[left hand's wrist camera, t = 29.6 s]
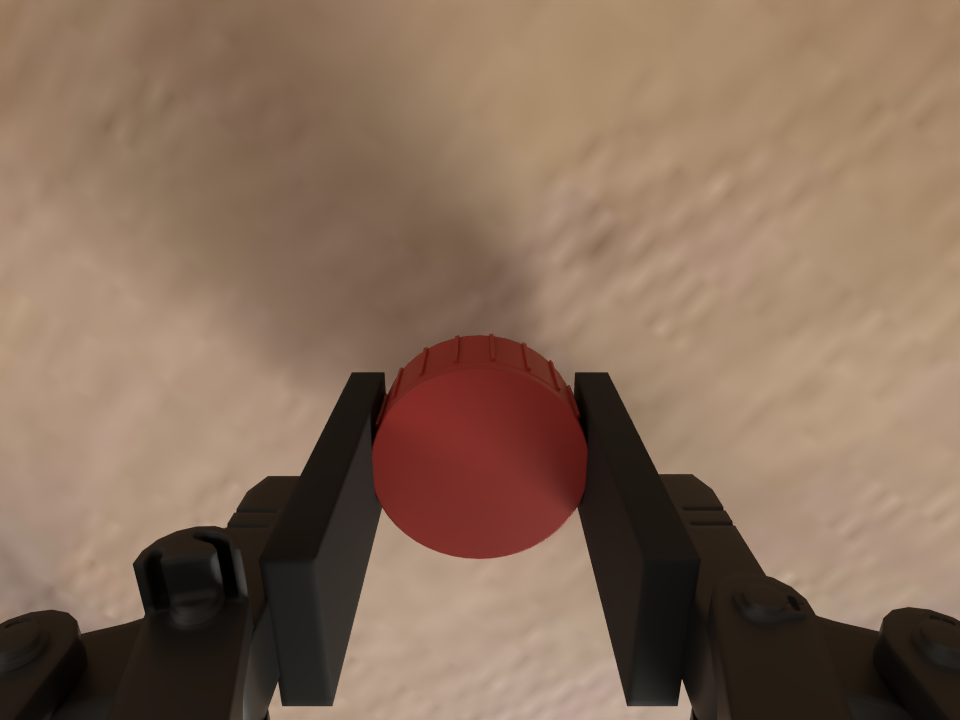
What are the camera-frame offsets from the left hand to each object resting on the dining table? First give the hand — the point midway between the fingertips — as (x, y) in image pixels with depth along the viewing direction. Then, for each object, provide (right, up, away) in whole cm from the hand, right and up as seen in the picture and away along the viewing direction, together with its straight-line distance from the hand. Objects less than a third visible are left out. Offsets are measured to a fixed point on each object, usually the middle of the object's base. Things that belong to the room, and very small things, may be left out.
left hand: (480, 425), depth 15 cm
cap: (0, -1, -2) cm, 2 cm away
